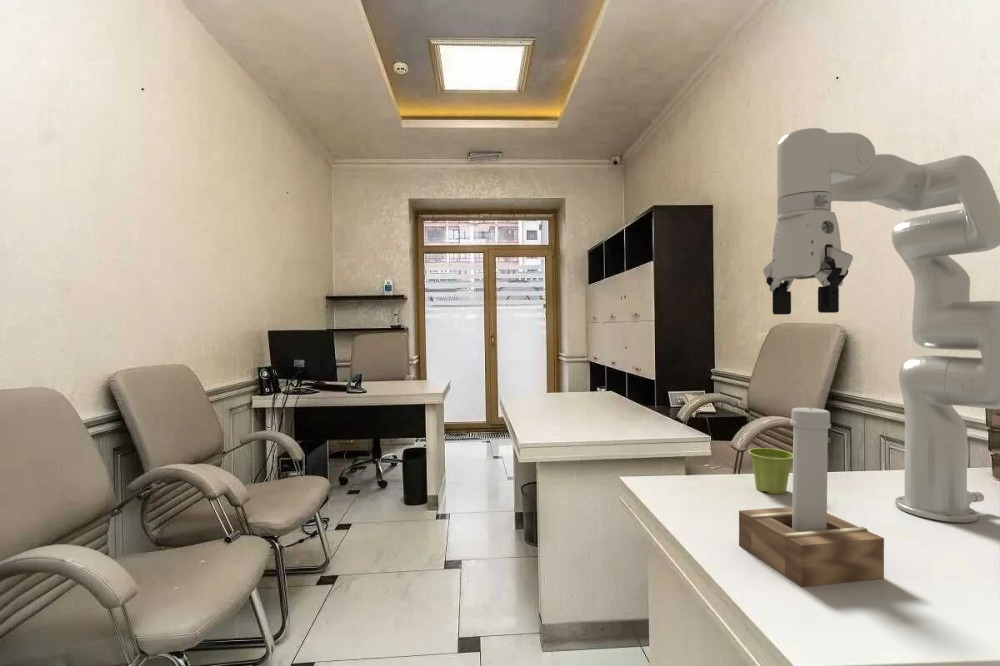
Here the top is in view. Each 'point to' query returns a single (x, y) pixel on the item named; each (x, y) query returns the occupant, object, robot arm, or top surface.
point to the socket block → (812, 548)
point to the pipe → (809, 467)
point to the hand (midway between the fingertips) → (803, 313)
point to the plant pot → (771, 469)
